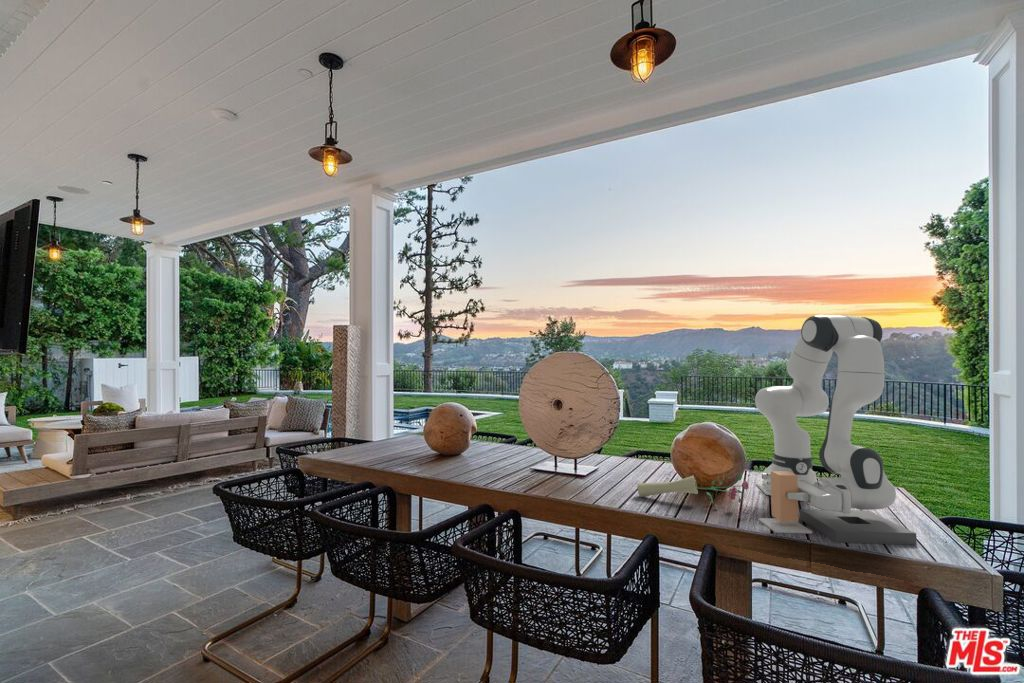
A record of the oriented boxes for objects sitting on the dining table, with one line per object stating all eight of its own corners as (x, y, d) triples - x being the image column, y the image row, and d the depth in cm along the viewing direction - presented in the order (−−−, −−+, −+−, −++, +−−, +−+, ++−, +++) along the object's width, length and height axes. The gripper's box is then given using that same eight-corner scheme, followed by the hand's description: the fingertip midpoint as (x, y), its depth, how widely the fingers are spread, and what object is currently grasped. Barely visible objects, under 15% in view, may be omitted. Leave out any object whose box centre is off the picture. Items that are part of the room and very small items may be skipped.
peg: (771, 515, 137) (770, 471, 138) (789, 515, 137) (788, 471, 137) (780, 521, 132) (779, 475, 133) (798, 521, 132) (797, 475, 132)
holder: (799, 518, 141) (799, 508, 141) (868, 520, 140) (868, 510, 140) (837, 542, 123) (836, 530, 123) (916, 544, 122) (916, 533, 122)
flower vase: (647, 516, 165) (755, 508, 150) (638, 515, 155) (753, 507, 140) (642, 482, 170) (746, 471, 155) (633, 479, 160) (743, 467, 145)
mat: (758, 520, 140) (758, 518, 140) (793, 520, 139) (793, 518, 139) (775, 532, 130) (775, 530, 130) (812, 533, 129) (812, 531, 129)
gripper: (809, 473, 144) (763, 472, 145) (853, 491, 124) (800, 490, 125) (810, 493, 144) (764, 492, 145) (854, 515, 124) (800, 514, 125)
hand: (781, 492), depth 135 cm, fingers closed on peg, 5 cm apart
